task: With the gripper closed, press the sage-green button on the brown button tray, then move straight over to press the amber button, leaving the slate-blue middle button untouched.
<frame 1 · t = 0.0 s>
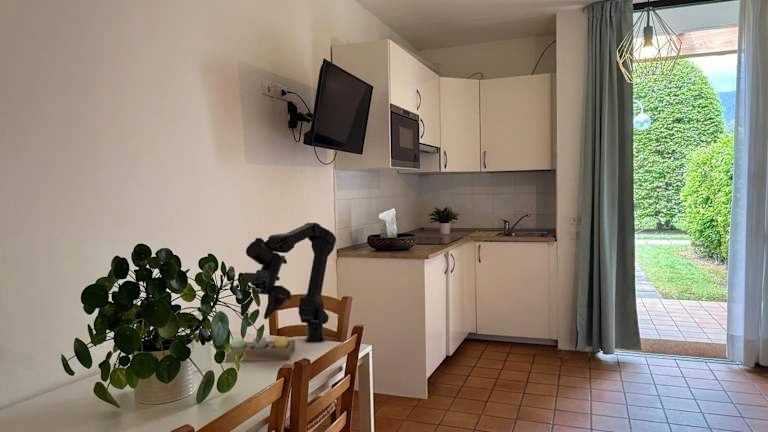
hand: (253, 317, 164), 15 cm above the table, tool tilted 35°, fingers open, 9 cm apart
brown button tray: (260, 355, 175), on the table
button amber: (281, 344, 175), point 4 cm above the table, slide at 0.0 cm
button sage: (238, 345, 175), point 3 cm above the table, slide at 0.0 cm
button slate: (259, 344, 175), point 4 cm above the table, slide at 0.0 cm
cup: (197, 367, 165), on the table
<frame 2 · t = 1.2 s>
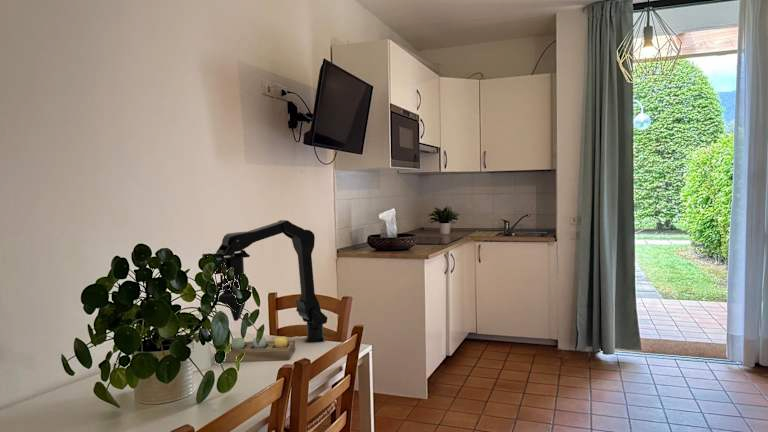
hand: (236, 319, 174), 12 cm above the table, tool pointing down, fingers closed
nothing on the table moved.
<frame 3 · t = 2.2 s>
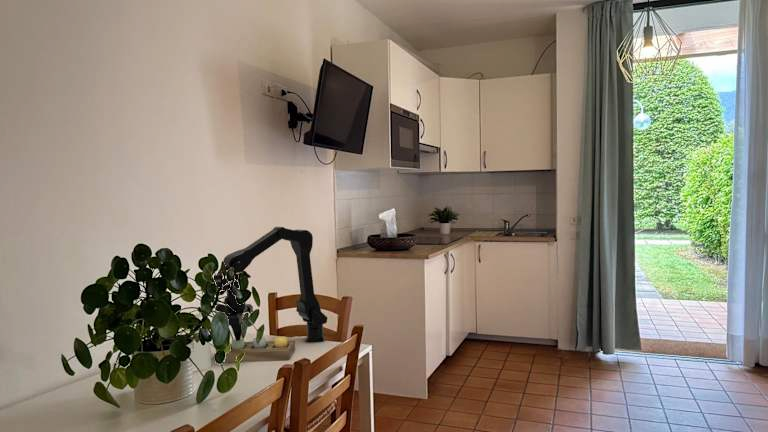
hand: (238, 340, 174), 5 cm above the table, tool pointing down, fingers closed, pressing on button sage
button sage: (238, 346, 175), point 3 cm above the table, slide at 0.3 cm, touching gripper
everything else where it was.
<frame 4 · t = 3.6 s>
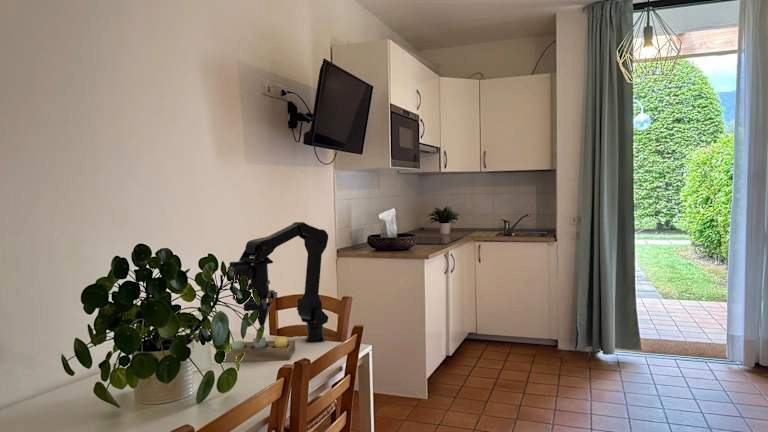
hand: (262, 326, 175), 10 cm above the table, tool pointing down, fingers closed
button sage: (238, 348, 175), point 3 cm above the table, slide at 0.9 cm
everything else where it was.
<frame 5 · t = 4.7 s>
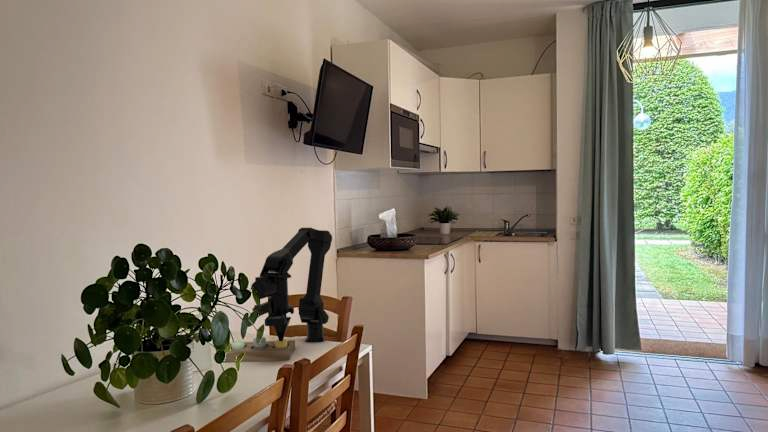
hand: (281, 340, 175), 5 cm above the table, tool pointing down, fingers closed, pressing on button amber
button amber: (281, 347, 175), point 3 cm above the table, slide at 0.9 cm, touching gripper
everything else where it was.
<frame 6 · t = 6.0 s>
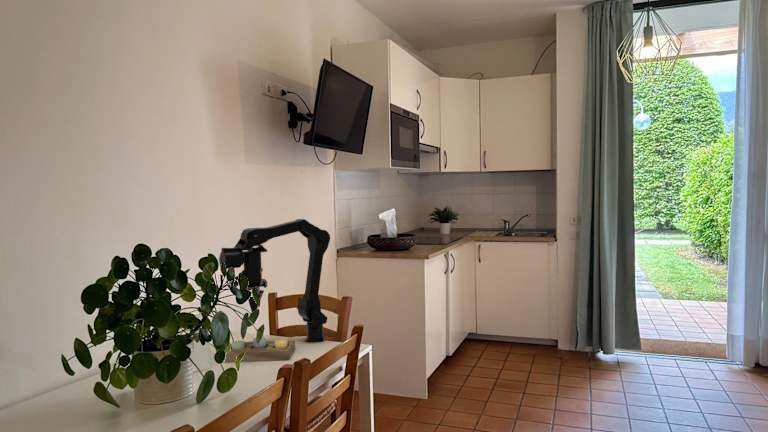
hand: (253, 313, 178), 13 cm above the table, tool pointing down, fingers closed
button amber: (281, 347, 175), point 3 cm above the table, slide at 1.0 cm
everything else where it was.
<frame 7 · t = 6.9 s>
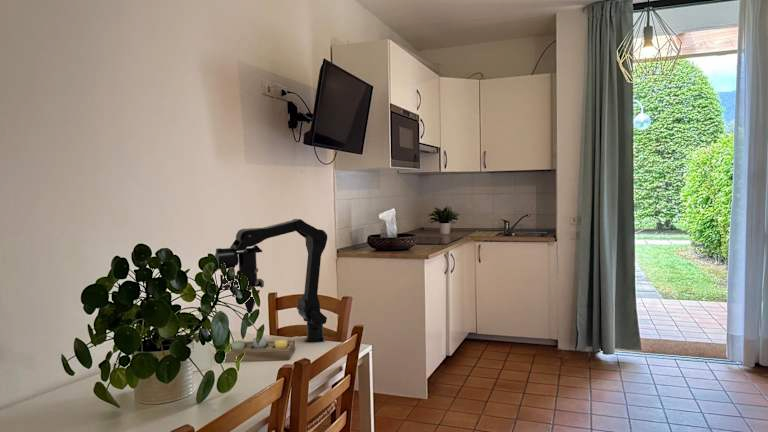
hand: (249, 313, 179), 13 cm above the table, tool pointing down, fingers closed
nothing on the table moved.
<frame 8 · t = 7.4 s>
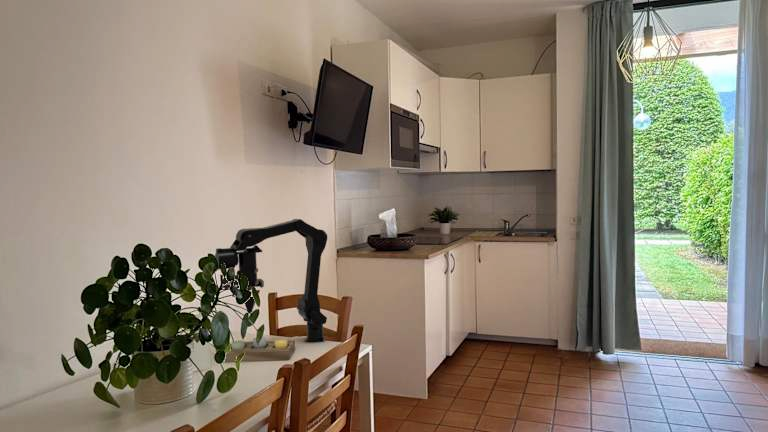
hand: (249, 313, 179), 13 cm above the table, tool pointing down, fingers closed
nothing on the table moved.
at the end: button sage slide at 0.9 cm; button amber slide at 1.0 cm; button slate slide at 0.0 cm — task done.
